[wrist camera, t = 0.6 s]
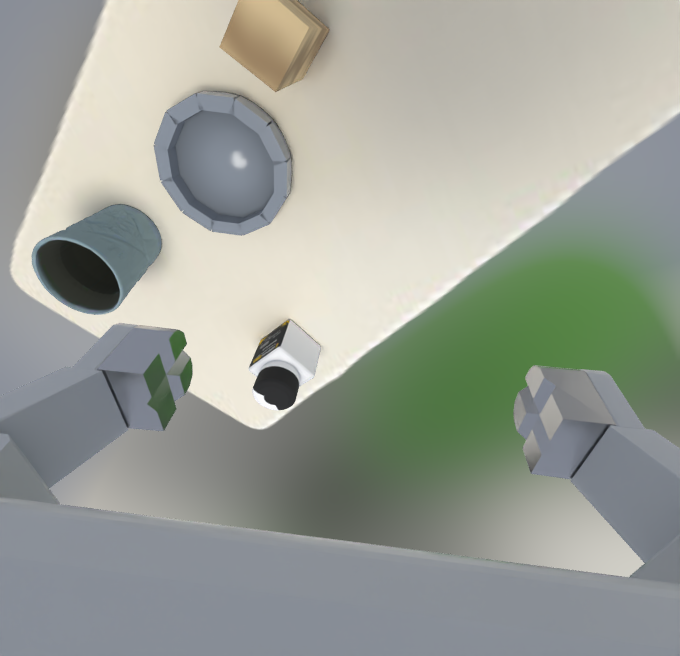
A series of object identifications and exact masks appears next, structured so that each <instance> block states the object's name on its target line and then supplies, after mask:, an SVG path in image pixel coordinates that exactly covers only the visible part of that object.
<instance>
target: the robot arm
mask: <svg viewBox="0 0 680 656" xmlns="http://www.w3.org/2000/svg"><path fill="white" fill-rule="evenodd" d="M186 344H187V342H186V339H185V335H184V333H183V332H182V331H180V330H176V329H168V328H160V327H152V326H143V325H132V324H124V323H118V324H115V325H113V326H112V327H111V328H110V329H109V330H108V331H107V332H106V333H105V334H104V335H103V336H102V337H101V338H100V339H99V340H98V341H97V343H95V344H94V345H93V346H92V348H91V349H90V350H89V351H88V352H87V353H86V354H85V355H84V356H83V357H82V358H81V359H80V360H79V361H78V362H77V363H76V364H75V365H74V366H73V367H72V368H71V367H64V368H62V369H60V370H57V371H55V372H53V373H51V374H48V375H46V376H44V377H42V378H39V379H37V380H35V381H32V382H30V383H28V384H26V385H23V386H21V387H19V388H17V389H15V390H12V391H10V392H8V393H6V394H3V395H1V396H0V656H680V448H678V447H677V446H676V445H674V444H673V443H671V442H670V441H668V440H667V439H665V438H664V437H662V436H661V435H660V434H658V433H657V432H655V431H654V430H648V429H645V428H644V426H643V425H642V423H641V422H640V420H639V419H638V417H637V416H636V414H635V413H634V411H633V410H632V408H631V406H630V405H629V403H628V402H627V400H626V399H625V397H624V396H623V394H622V393H621V391H620V390H619V388H618V386H617V385H616V383H615V382H614V381H613V379H612V377H611V376H610V375H609V374H608V373H606V372H605V371H596V370H583V369H580V370H577V369H566V368H556V367H545V366H535V365H534V366H533V367H532V368H531V369H530V370H529V371H528V373H527V376H526V381H527V384H528V386H527V387H526V388H524V389H523V390H521V391H520V392H519V393H518V395H517V398H516V401H515V406H514V421H515V425H516V429H517V431H518V432H519V433H520V434H521V435H522V436H523V437H524V438H525V439H526V442H525V444H524V446H523V451H524V454H525V457H526V460H527V463H528V466H529V469H530V472H531V474H537V475H544V476H551V477H559V478H565V479H572V480H571V482H572V483H573V484H574V485H575V487H576V488H577V489H578V490H579V491H580V492H581V493H582V494H583V495H584V496H585V498H586V499H587V500H588V501H589V502H590V503H591V504H592V505H593V506H594V508H595V509H596V510H597V511H598V512H599V513H600V514H601V515H602V516H603V517H604V519H605V520H606V521H607V522H608V523H609V524H610V525H611V526H612V527H613V529H615V531H616V532H617V533H618V534H619V535H620V536H621V537H622V538H623V540H624V541H625V542H626V543H627V544H628V545H629V546H630V547H631V548H632V550H633V551H634V552H635V553H636V554H637V555H638V556H639V557H640V558H641V560H643V562H644V563H645V564H644V565H642V566H641V567H640V568H639V569H638V570H637V571H635V572H634V573H633V574H632V575H631V576H630V577H622V576H614V575H606V574H598V573H591V572H583V571H574V570H568V569H559V568H551V567H544V566H536V565H529V564H521V563H513V562H505V561H498V560H490V559H482V558H474V557H466V556H459V555H450V554H443V553H435V552H428V551H420V550H412V549H405V548H397V547H389V546H381V545H374V544H366V543H358V542H350V541H342V540H334V539H327V538H319V537H311V536H303V535H295V534H288V533H279V532H272V531H264V530H256V529H248V528H240V527H233V526H225V525H217V524H209V523H201V522H193V521H186V520H177V519H171V518H163V517H155V516H147V515H139V514H132V513H124V512H116V511H108V510H101V509H100V510H99V509H93V508H85V507H76V506H70V505H62V504H60V503H59V501H58V500H57V498H56V497H55V496H54V494H53V493H52V492H51V490H50V489H49V488H50V487H52V486H53V485H54V484H56V483H57V482H58V481H60V480H61V479H62V478H64V477H65V476H67V475H68V474H69V473H71V472H72V471H73V470H75V469H76V468H77V467H79V466H80V465H81V464H83V463H84V462H85V461H87V460H88V459H89V458H91V457H92V456H94V455H95V454H96V453H98V452H99V451H100V450H102V449H103V448H104V447H106V446H107V445H108V444H110V443H111V442H113V441H114V440H115V439H117V438H118V437H119V436H121V435H122V434H123V433H125V432H126V431H127V430H128V428H134V429H146V430H156V431H164V430H165V428H166V427H167V425H168V423H169V421H170V420H171V418H172V416H173V414H174V413H175V411H176V405H175V402H174V401H176V400H177V399H179V398H180V397H182V396H184V395H185V393H186V392H187V390H188V388H189V386H190V382H191V378H192V362H191V358H190V357H189V356H188V355H187V354H186V353H185V352H184V351H183V349H184V347H185V346H186Z"/></svg>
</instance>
